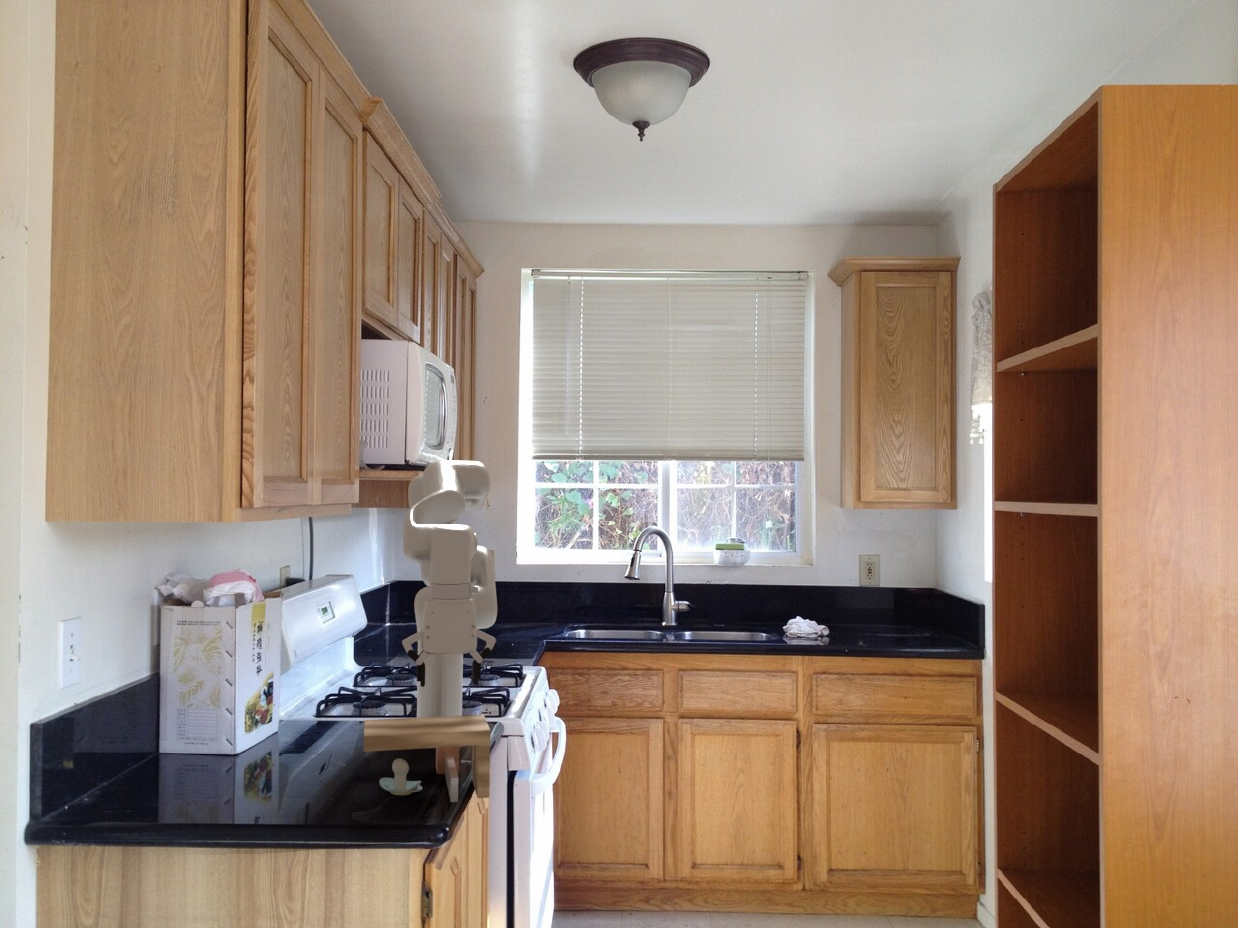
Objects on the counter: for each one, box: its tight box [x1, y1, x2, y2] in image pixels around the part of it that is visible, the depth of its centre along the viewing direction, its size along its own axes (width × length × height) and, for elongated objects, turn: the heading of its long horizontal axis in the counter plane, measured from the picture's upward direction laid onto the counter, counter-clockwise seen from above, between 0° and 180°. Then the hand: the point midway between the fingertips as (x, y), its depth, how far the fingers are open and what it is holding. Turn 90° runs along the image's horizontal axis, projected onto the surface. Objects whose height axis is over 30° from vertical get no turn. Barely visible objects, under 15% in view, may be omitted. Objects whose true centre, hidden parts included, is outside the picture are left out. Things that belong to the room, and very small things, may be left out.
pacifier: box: [379, 757, 423, 796], centre depth 166 cm, size 7×6×6 cm
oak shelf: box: [363, 714, 491, 799], centre depth 166 cm, size 11×21×12 cm, turn 104°
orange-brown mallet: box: [435, 746, 460, 803], centre depth 170 cm, size 20×4×9 cm, turn 14°
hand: (448, 684), depth 178 cm, fingers open, 9 cm apart
